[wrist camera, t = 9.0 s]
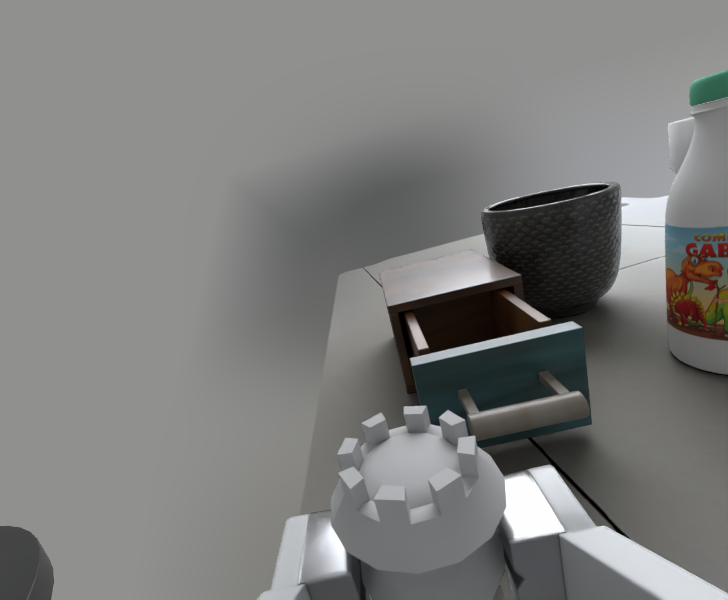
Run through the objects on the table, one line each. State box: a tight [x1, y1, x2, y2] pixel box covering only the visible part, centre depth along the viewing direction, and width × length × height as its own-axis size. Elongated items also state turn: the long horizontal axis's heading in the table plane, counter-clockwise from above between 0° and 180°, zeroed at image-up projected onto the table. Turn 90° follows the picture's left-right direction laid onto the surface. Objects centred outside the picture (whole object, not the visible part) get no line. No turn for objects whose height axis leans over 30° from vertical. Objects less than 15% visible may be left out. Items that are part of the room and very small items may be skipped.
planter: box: [481, 182, 621, 318], centre depth 44 cm, size 14×14×13 cm
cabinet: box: [379, 250, 525, 393], centre depth 41 cm, size 15×12×9 cm
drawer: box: [403, 288, 592, 448], centre depth 28 cm, size 18×10×7 cm, turn 2°
